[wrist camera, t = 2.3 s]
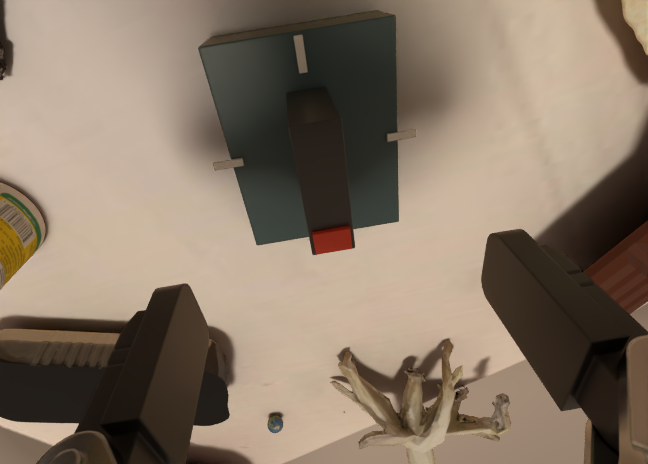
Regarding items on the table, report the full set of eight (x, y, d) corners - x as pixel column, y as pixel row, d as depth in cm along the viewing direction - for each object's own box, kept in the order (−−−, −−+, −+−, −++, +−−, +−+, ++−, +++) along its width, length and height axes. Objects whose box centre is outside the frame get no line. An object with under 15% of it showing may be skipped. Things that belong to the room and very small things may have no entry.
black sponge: (235, 327, 28) (229, 369, 25) (227, 392, 32) (222, 435, 29) (-13, 312, 25) (-54, 358, 22) (17, 387, 29) (-13, 433, 26)
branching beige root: (498, 328, 35) (474, 468, 37) (336, 309, 36) (321, 449, 38) (548, 373, 27) (514, 552, 29) (335, 347, 27) (315, 525, 29)
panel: (191, 40, 17) (175, 51, 14) (396, 7, 17) (418, 11, 14) (245, 219, 23) (241, 250, 20) (399, 193, 23) (415, 220, 20)
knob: (285, 93, 16) (288, 129, 12) (326, 86, 16) (342, 120, 12) (305, 202, 19) (313, 259, 15) (340, 196, 19) (356, 251, 15)
